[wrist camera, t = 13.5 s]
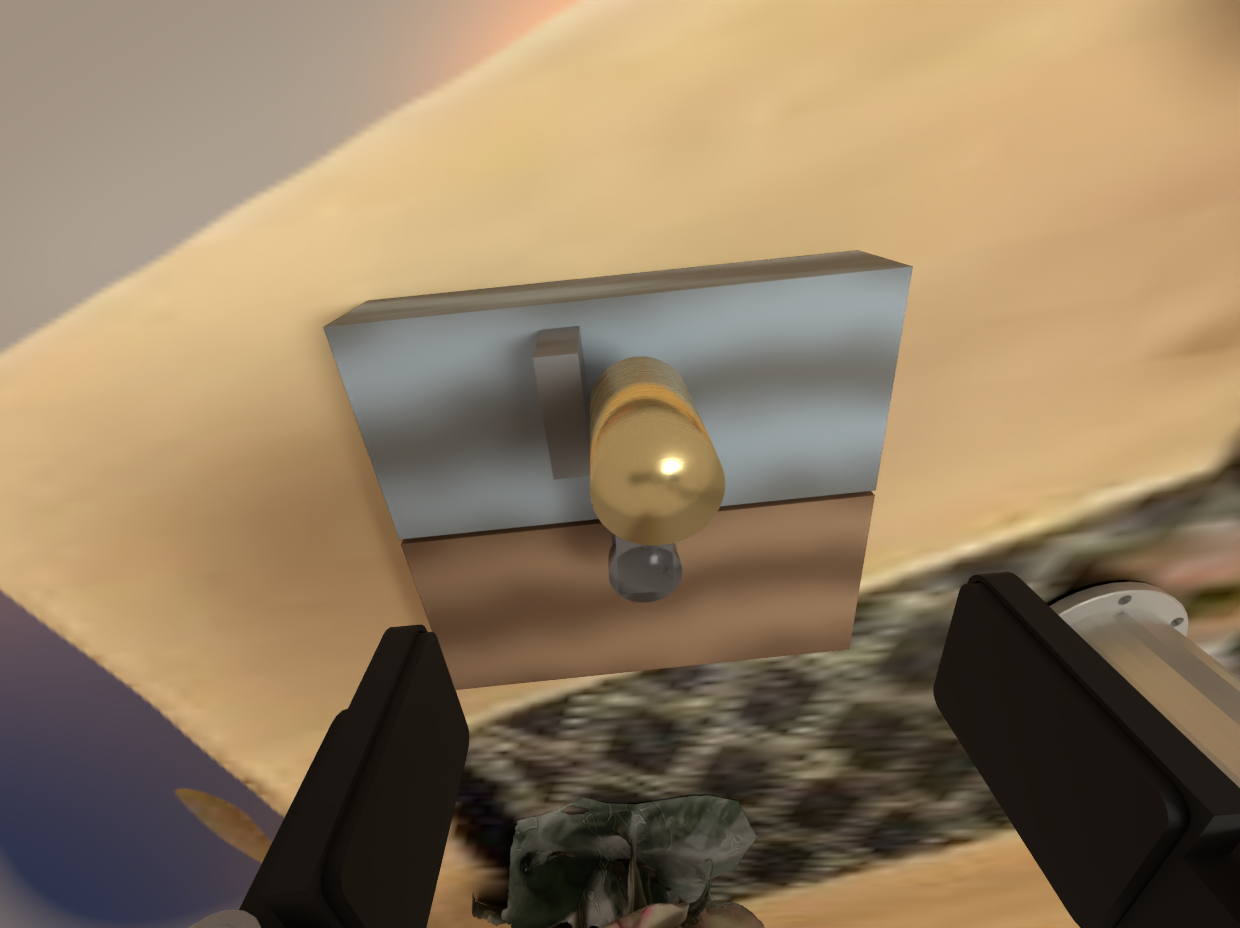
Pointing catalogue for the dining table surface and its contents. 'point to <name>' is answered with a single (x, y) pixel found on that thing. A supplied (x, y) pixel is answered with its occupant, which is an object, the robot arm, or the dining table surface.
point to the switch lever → (649, 473)
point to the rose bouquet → (624, 895)
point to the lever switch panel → (560, 457)
